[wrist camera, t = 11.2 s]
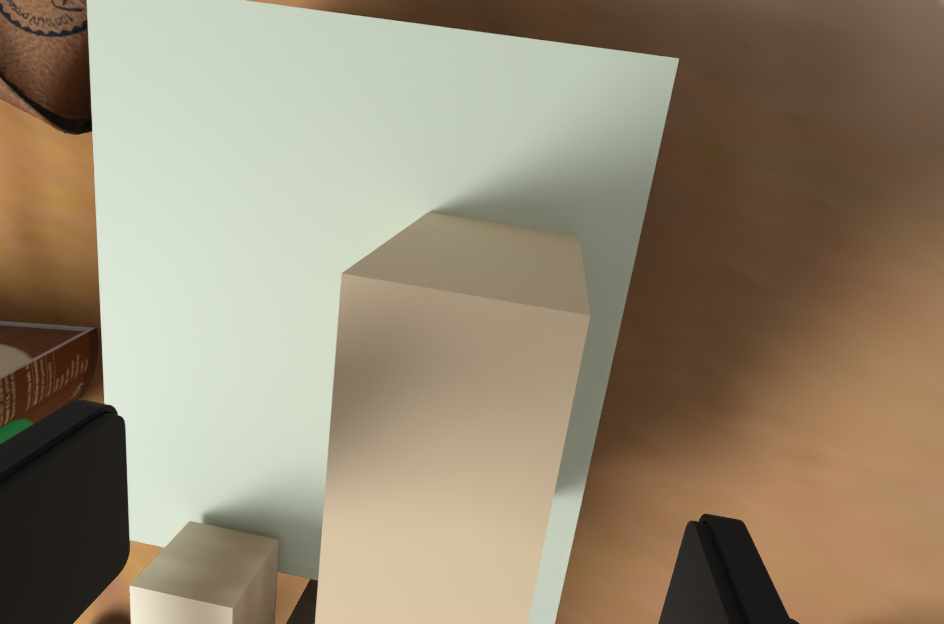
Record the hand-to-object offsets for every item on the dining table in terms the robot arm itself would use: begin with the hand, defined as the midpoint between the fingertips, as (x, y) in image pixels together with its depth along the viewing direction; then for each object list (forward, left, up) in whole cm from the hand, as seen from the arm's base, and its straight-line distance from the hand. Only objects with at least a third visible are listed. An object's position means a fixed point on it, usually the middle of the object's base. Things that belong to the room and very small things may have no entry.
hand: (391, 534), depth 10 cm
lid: (+3, 0, -9) cm, 10 cm away
